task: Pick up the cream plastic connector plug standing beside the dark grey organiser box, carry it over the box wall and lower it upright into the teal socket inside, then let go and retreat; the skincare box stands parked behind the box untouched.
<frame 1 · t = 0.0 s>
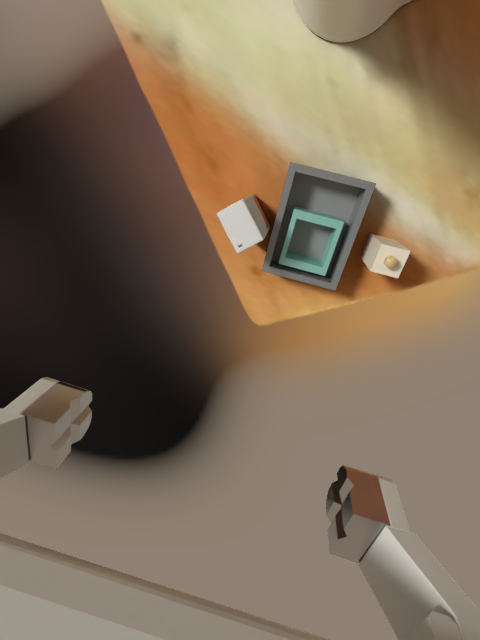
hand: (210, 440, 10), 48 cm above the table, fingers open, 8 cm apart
organiser box: (313, 225, 53), on the table
plug: (377, 248, 53), on the table
inlet socket: (309, 237, 54), resting on organiser box
skincare box: (251, 215, 54), on the table
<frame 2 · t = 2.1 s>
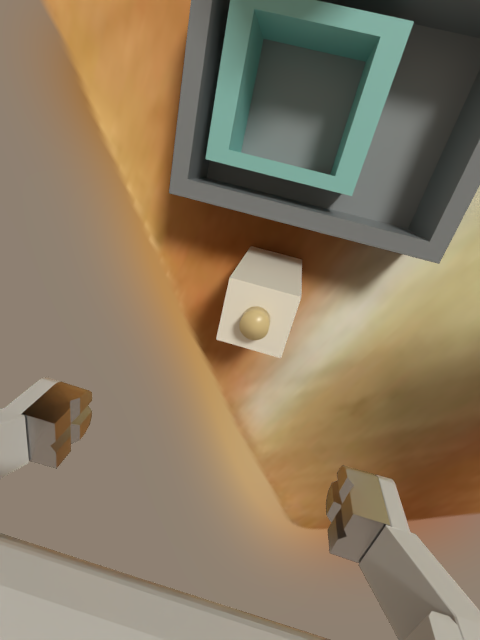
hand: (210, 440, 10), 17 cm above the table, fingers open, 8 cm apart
organiser box: (329, 119, 21), on the table
plug: (269, 277, 26), on the table
inlet socket: (298, 112, 21), resting on organiser box
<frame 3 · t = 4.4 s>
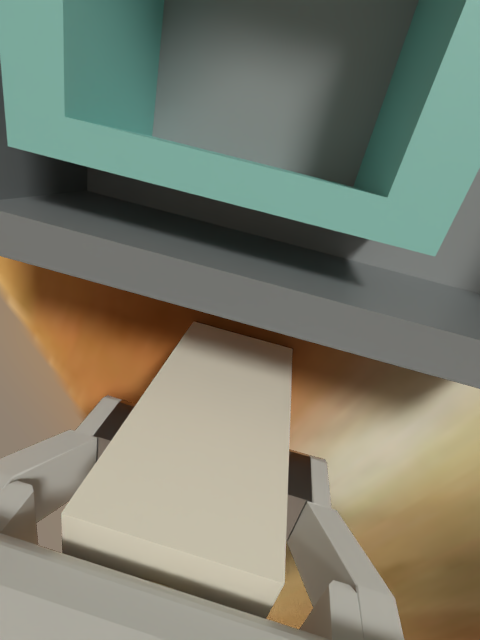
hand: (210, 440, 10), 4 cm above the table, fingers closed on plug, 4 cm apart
organiser box: (353, 57, 9), on the table
plug: (232, 375, 14), on the table, touching gripper
inlet socket: (280, 41, 9), resting on organiser box
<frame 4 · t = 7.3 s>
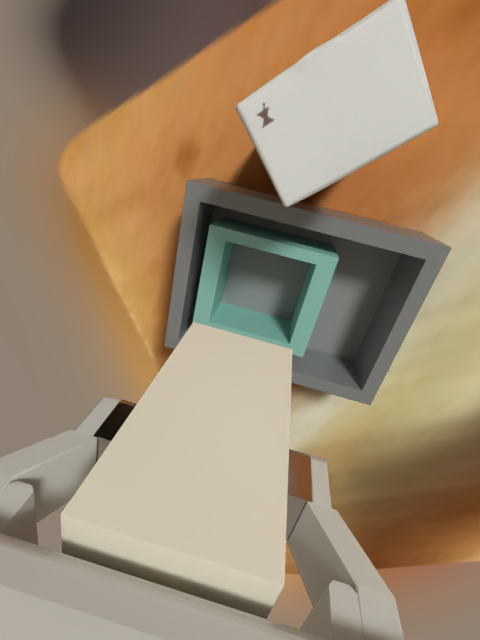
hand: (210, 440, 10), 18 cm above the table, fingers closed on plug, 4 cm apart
organiser box: (289, 281, 26), on the table
plug: (231, 376, 14), point 14 cm above the table, touching gripper
inlet socket: (265, 274, 27), resting on organiser box
skincare box: (317, 140, 22), on the table
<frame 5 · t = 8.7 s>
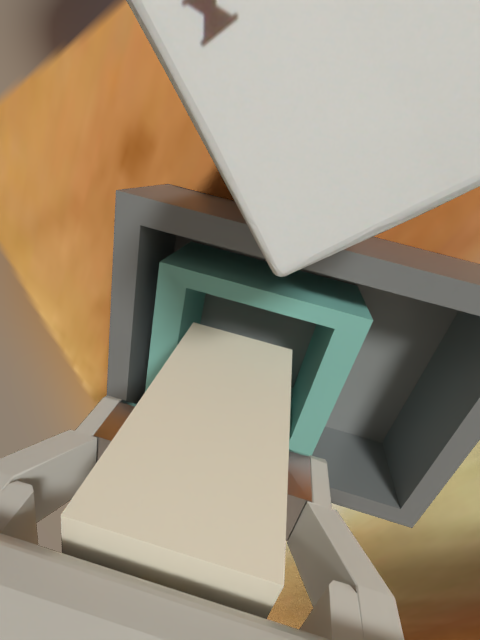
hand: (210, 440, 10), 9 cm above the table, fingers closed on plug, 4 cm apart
organiser box: (291, 332, 18), on the table
plug: (231, 376, 14), point 5 cm above the table, touching gripper
inlet socket: (256, 322, 18), resting on organiser box
skincare box: (335, 125, 14), on the table
when the fingers open (5 cm above the table, at t = 10.2 s): plug stays where it is, resting on organiser box.
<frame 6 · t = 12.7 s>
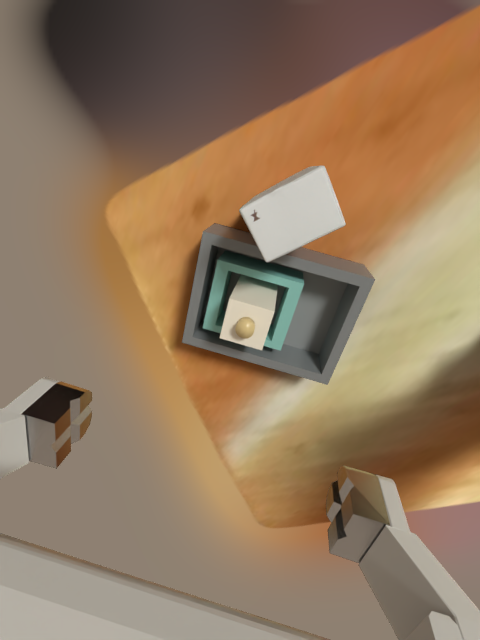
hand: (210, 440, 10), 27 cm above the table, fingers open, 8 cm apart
organiser box: (272, 296, 37), on the table
plug: (255, 294, 36), point 1 cm above the table, touching organiser box
inlet socket: (255, 291, 37), resting on organiser box
skincare box: (291, 201, 32), on the table
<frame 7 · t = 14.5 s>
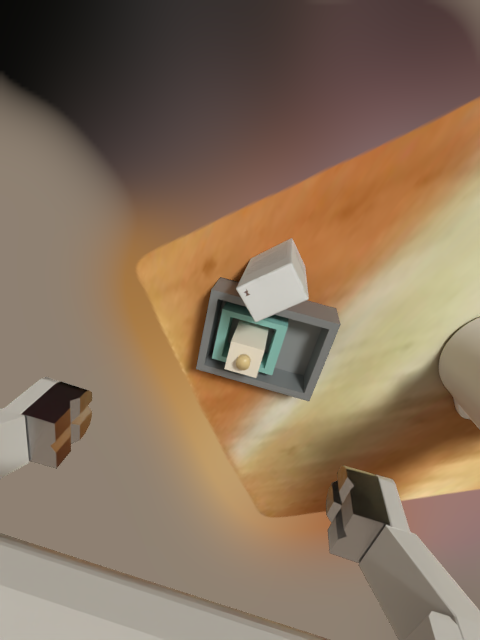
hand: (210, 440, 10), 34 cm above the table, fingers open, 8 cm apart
organiser box: (266, 331, 47), on the table
plug: (252, 330, 46), point 1 cm above the table, touching organiser box
inlet socket: (252, 327, 47), resting on organiser box
skincare box: (278, 261, 42), on the table
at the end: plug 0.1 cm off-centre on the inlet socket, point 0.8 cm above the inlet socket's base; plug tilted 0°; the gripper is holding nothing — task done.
